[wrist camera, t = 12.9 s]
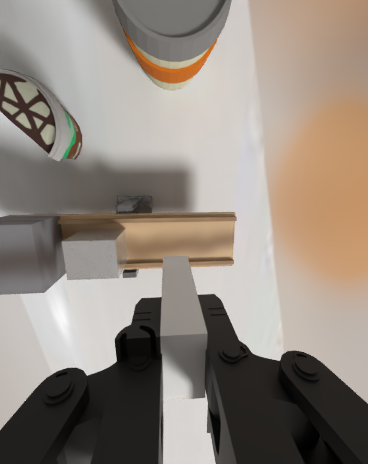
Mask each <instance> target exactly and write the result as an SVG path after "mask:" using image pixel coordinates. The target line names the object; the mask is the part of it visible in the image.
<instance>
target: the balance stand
mask: <svg viewBox="0 0 368 464" xmlns="http://www.w3.org/2000/svg"><path fill="white" fill-rule="evenodd" d="M117 198H118V205H117V211H119V214H121V213H123V212H132V214H138V213H152V201H151V196H134V197H117ZM138 270H139V269H132V270H127V269H124V271H123V278H132V277H137V274H138Z"/></svg>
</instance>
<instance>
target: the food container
mask: <svg viewBox="0 0 368 464" xmlns="http://www.w3.org/2000/svg"><path fill="white" fill-rule="evenodd" d="M0 111H1V112H2V113H3V114H4V115H5V116H6V117H7V118H8V119H9V120H10V121H11V122H12V123H14V124H15V125H16V126H17V127H18V128H20V129H21V130H22V131H23V132H24V133H26V134H27V135H28V136H29V137H30V138H31V139H33V140H34V141H35V142H36V143H37V144H38V145H39V146H41V147H42V148H43V149H44V150H45V151H46V152H47V153H48V154H49V155H48V156H47V157H50V158H52V159H54V160H57V161H60V160H61V158H65V159H76V158H77V157H78V155H79V153H80V150H81V147H82V134H81V131H80V128H79V126H78V124H77V122H76V121H75V119H74V118H73V117H72V116H71V115H70V114H69V113H67V112H66V111H65V110H64V109H63V108H62V107H61V105H60V103H59V101H58V100H57V99H56V97H55V96H54V95H53V94H52V93H51V91H50V90H49V89H47V88H46V87H45V86H44V85H43V84H41V83H40V82H38V81H37V80H35V79H33V78H31V77H29V76H26V75H24V74H21V73H19V72H15V71H12V70H6V69H0Z"/></svg>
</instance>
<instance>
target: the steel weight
mask: <svg viewBox="0 0 368 464" xmlns="http://www.w3.org/2000/svg"><path fill="white" fill-rule="evenodd" d="M61 242H62V248H63V255H64V261H65V267H66V274H67V280H80V279H106V278H119V276H120V274H121V272H122V270H123V269H124V267H125V265H126V263H127V261H128V252H127V239H126V228H122V229H82V230H81V231H79V232H77V233H75V234H74V235H72V236H70V237H68V238H67V239H65V240H63V241H61Z"/></svg>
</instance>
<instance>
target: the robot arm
mask: <svg viewBox="0 0 368 464" xmlns="http://www.w3.org/2000/svg"><path fill="white" fill-rule="evenodd" d="M115 347H116V356H117V362H116V363H115V364H113V365H112V366H110V367H109V368H107V369H104V370H102V371H100V372H97V373H94V374H91V375H88V376H87V375H86V374H85V372H84V371H83V370H81V369H78V368H66V369H63V370H60V371H57V372H56V373H54V374H52V375H51V376H49V377H47V378H46V379H45V380H44V381H43V382H42V383H41V384H40V385H39V386H38V387H37V388H36V389H35V390H34V391H33V393H32V394H31V395H30V396H29V397H28V398H27V400H26V401H25V402H24V403H23V404H22V405H21V407H20V408H19V409H18V410H17V411H16V413H15V414H14V415H13V416H12V417H11V418H10V420H9V421H8V422H7V423H6V424H5V425H4V427H3V428H2V429H1V430H0V464H163V401H172V400H183V399H194V398H205V389H206V394H207V400H208V416H207V433H210V432H211V438H212V444H213V450H214V456H215V462H216V464H368V404H367V403H366V402H365V401H364V400H363V399H362V398H361V397H359V396H358V395H357V394H356V393H355V392H354V391H353V390H352V389H351V388H350V387H348V386H347V385H346V384H345V383H344V382H343V381H342V380H341V379H339V378H338V377H337V376H336V375H335V374H334V373H333V372H332V371H330V370H329V369H328V368H327V367H326V366H325V365H324V364H323V363H321V362H320V361H319V360H317V359H316V358H315V357H313V356H311V355H309V354H306V353H304V352H299V351H288V352H286V353H284V354H283V355H282V357H281V360H280V361H277V360H272V359H267V358H263V357H260V356H257V355H255V354H253V353H251V351H250V350H249V348H248V347H247V346H246V345H245V344H243V343H242V342H241V341H239V340H238V337H237V335H236V333H235V331H234V328H233V326H232V324H231V321H230V319H229V317H228V315H227V312H226V310H225V309H224V306H223V303H222V301H221V300H220V299H219V298H218V297H217V296H216V295H215V294H207V295H197V291H196V287H195V283H194V280H193V276H192V272H191V268H190V264H189V260H188V257H187V256H163V277H162V297H159V298H142V299H141V300H140V301H139V302H138V303H137V304H136V306H135V311H134V315H133V319H132V323H131V325H129V326H127V327H125V328H124V329H123V330H121V331H120V332H119V333H118V335H117V336H116V338H115Z"/></svg>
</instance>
